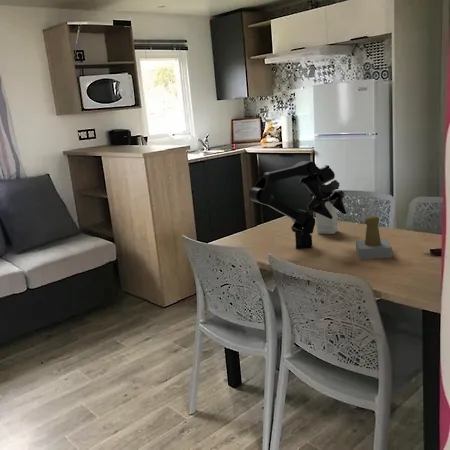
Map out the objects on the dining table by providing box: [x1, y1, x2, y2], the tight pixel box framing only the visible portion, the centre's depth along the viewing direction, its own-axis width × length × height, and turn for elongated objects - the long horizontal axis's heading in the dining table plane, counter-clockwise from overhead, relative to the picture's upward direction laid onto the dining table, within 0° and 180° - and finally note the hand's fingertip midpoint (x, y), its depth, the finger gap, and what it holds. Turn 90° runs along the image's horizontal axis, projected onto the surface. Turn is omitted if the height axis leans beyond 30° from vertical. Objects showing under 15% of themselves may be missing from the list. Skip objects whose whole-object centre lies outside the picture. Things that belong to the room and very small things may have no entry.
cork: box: [364, 215, 381, 246], centre depth 191 cm, size 6×6×11 cm
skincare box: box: [314, 202, 339, 235], centre depth 228 cm, size 8×7×16 cm
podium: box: [355, 238, 393, 260], centre depth 193 cm, size 12×12×4 cm
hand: (338, 216), depth 202 cm, fingers open, 9 cm apart
